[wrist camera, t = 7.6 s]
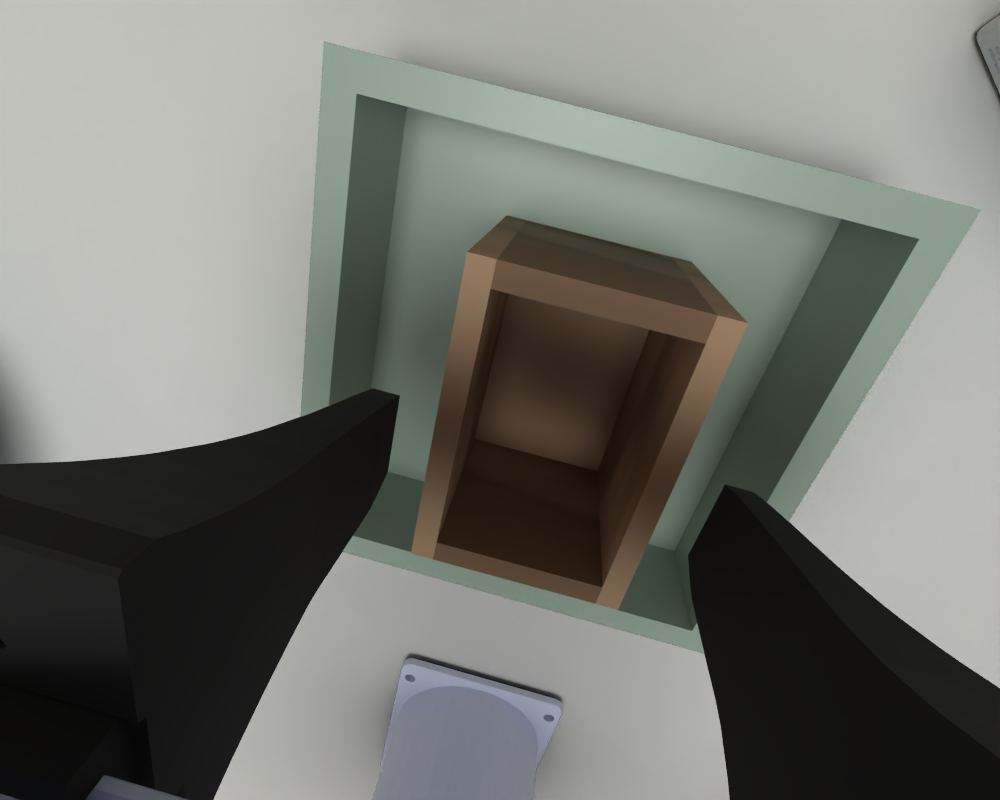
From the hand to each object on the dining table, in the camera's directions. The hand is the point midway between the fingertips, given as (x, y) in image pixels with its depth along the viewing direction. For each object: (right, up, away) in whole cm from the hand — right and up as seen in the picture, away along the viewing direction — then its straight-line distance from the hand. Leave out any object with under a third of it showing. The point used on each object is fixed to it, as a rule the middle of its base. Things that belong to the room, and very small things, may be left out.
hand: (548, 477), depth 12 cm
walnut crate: (+1, +3, +6) cm, 7 cm away
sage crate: (+1, +3, +7) cm, 8 cm away
